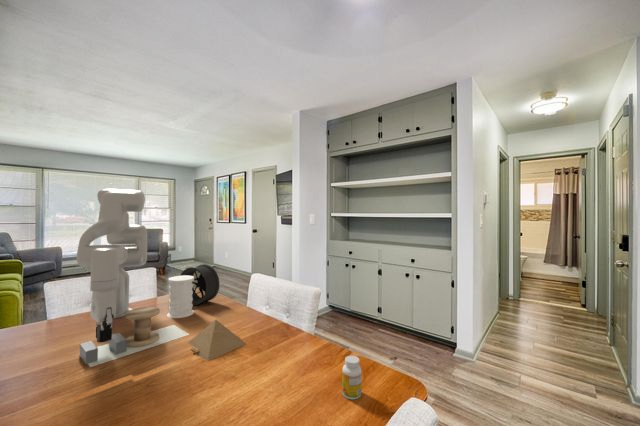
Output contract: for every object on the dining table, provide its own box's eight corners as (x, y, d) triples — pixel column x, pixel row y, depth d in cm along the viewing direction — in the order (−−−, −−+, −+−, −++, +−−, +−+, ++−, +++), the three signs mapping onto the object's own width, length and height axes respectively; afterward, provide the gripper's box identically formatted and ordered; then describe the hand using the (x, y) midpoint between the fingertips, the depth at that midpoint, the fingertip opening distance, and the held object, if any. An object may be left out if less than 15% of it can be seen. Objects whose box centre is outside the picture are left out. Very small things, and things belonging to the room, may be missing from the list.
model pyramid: (180, 348, 103) (180, 321, 103) (221, 332, 117) (222, 308, 117) (205, 363, 93) (205, 333, 93) (247, 344, 107) (248, 318, 107)
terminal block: (79, 355, 93) (79, 343, 93) (118, 343, 102) (119, 332, 102) (85, 364, 88) (85, 351, 88) (126, 351, 97) (126, 339, 97)
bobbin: (119, 340, 104) (120, 312, 104) (152, 331, 113) (152, 305, 113) (130, 350, 97) (130, 320, 97) (164, 339, 106) (164, 311, 106)
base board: (79, 355, 96) (79, 352, 96) (173, 327, 120) (173, 324, 120) (90, 371, 87) (90, 367, 87) (189, 337, 111) (189, 334, 111)
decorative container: (186, 310, 141) (186, 274, 141) (199, 315, 134) (199, 277, 134) (162, 316, 132) (162, 278, 131) (174, 322, 125) (175, 282, 125)
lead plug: (95, 340, 95) (95, 319, 95) (108, 336, 98) (109, 316, 98) (98, 343, 92) (98, 322, 92) (112, 339, 95) (112, 319, 95)
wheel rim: (219, 303, 152) (219, 266, 152) (206, 308, 144) (207, 269, 144) (191, 297, 160) (192, 262, 160) (177, 302, 152) (178, 265, 152)
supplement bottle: (340, 388, 81) (341, 354, 81) (358, 387, 82) (359, 354, 82) (343, 400, 76) (344, 364, 76) (363, 399, 76) (364, 364, 76)
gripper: (84, 282, 97) (83, 335, 97) (97, 291, 87) (96, 351, 87) (110, 278, 103) (109, 328, 103) (126, 286, 93) (125, 342, 93)
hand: (103, 338), depth 95 cm, fingers closed on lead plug, 3 cm apart
